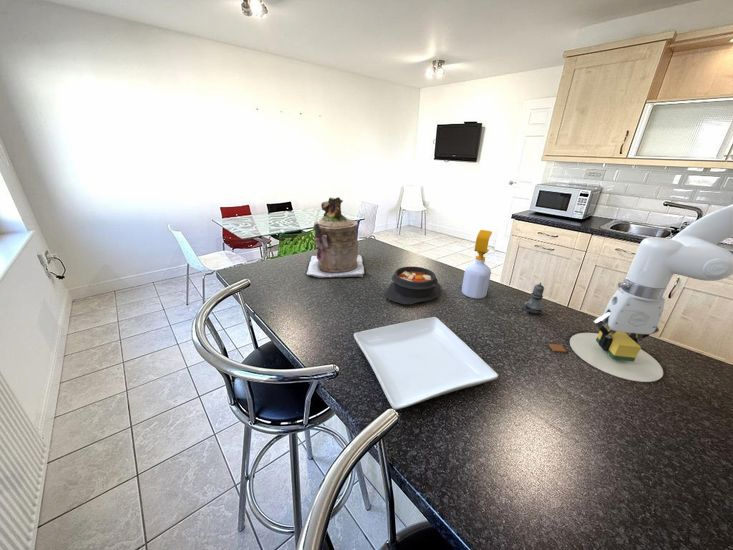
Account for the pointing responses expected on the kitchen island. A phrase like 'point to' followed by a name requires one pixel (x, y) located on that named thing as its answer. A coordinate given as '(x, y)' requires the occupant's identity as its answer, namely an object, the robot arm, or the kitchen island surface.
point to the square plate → (421, 361)
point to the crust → (557, 348)
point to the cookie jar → (335, 244)
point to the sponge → (622, 347)
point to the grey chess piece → (535, 301)
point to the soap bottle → (478, 269)
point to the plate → (593, 354)
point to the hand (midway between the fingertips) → (614, 348)
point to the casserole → (413, 285)
